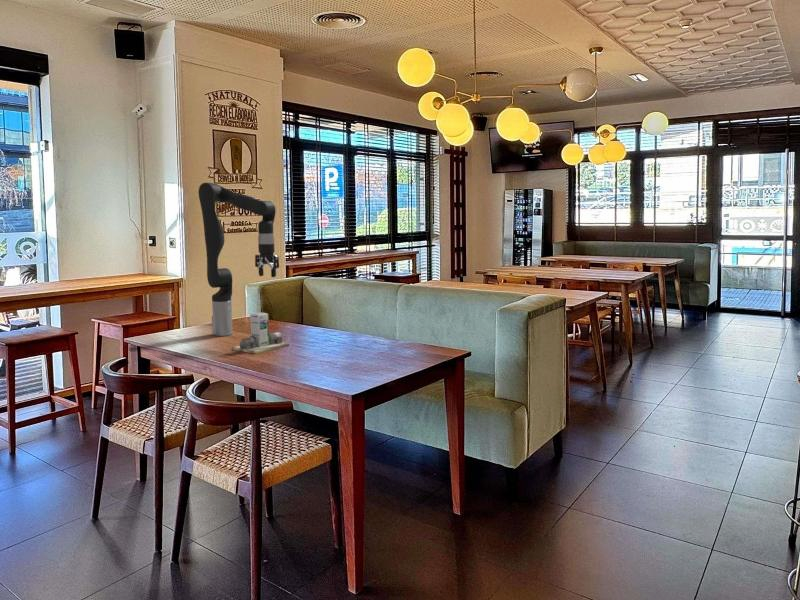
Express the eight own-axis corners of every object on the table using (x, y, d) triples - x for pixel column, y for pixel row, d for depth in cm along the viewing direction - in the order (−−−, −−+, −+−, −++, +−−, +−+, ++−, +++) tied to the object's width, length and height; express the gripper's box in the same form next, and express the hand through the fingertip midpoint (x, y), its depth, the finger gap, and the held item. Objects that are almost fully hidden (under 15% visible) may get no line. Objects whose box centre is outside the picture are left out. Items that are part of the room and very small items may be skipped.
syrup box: (259, 346, 280) (258, 314, 278) (251, 345, 284) (250, 313, 282) (269, 344, 285) (268, 313, 283) (260, 343, 288) (259, 311, 286)
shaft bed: (231, 349, 281) (231, 335, 280) (266, 341, 297) (266, 328, 296) (255, 354, 271) (255, 340, 271) (290, 345, 288) (290, 332, 287)
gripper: (250, 242, 301) (251, 276, 304) (270, 243, 293) (271, 278, 295) (262, 242, 307) (263, 275, 310) (282, 243, 299) (283, 276, 301)
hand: (267, 276), depth 302 cm, fingers open, 8 cm apart
